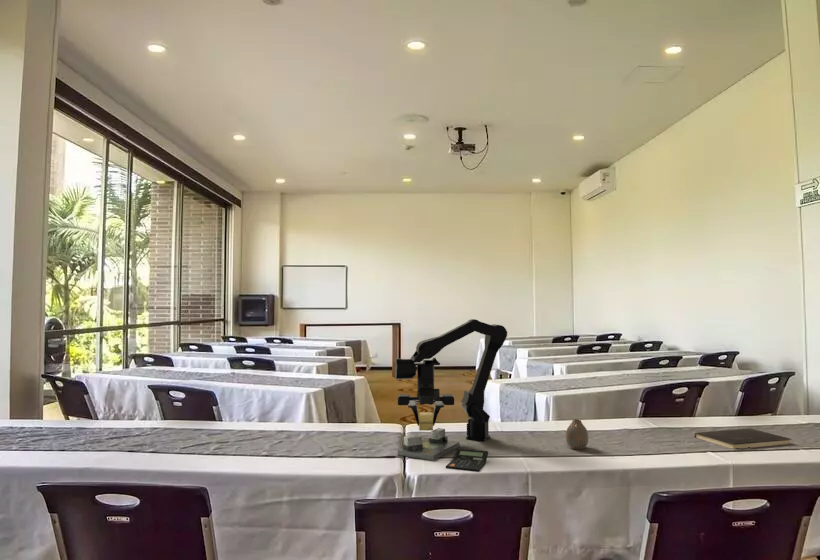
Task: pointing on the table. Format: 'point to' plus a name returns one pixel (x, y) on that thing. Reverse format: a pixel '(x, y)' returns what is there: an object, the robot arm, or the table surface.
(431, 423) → the tan cube
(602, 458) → the table surface
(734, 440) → the hardcover book
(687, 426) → the table surface
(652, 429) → the table surface
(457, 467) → the calculator
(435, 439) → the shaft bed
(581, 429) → the vase
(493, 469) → the table surface
